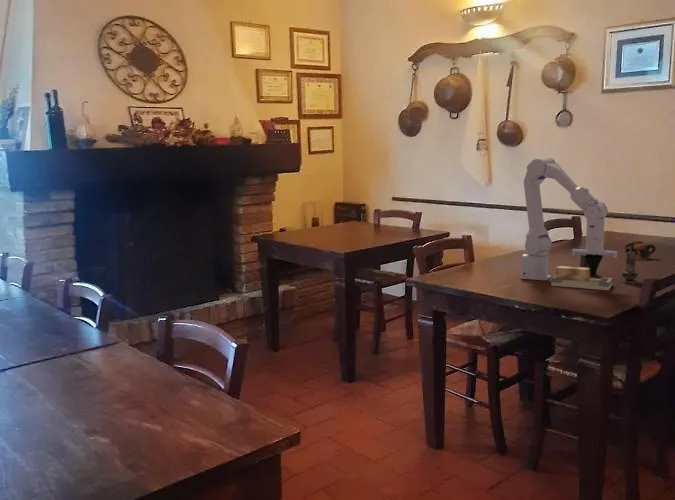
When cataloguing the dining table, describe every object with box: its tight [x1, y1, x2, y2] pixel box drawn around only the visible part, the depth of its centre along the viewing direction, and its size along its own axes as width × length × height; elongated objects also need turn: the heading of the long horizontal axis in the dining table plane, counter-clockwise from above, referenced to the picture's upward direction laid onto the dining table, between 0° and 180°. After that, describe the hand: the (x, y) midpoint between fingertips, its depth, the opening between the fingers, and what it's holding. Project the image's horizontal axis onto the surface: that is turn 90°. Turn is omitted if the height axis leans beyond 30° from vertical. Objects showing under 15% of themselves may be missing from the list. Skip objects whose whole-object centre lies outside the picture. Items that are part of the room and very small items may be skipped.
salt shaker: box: [620, 249, 640, 284], centre depth 240 cm, size 6×6×12 cm
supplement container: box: [578, 245, 600, 277], centre depth 253 cm, size 7×7×10 cm
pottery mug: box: [624, 240, 657, 261], centre depth 284 cm, size 12×10×8 cm
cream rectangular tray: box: [550, 273, 613, 291], centre depth 237 cm, size 19×9×3 cm, turn 62°
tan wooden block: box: [555, 265, 591, 282], centre depth 238 cm, size 11×4×5 cm, turn 62°
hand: (593, 276), depth 235 cm, fingers closed
